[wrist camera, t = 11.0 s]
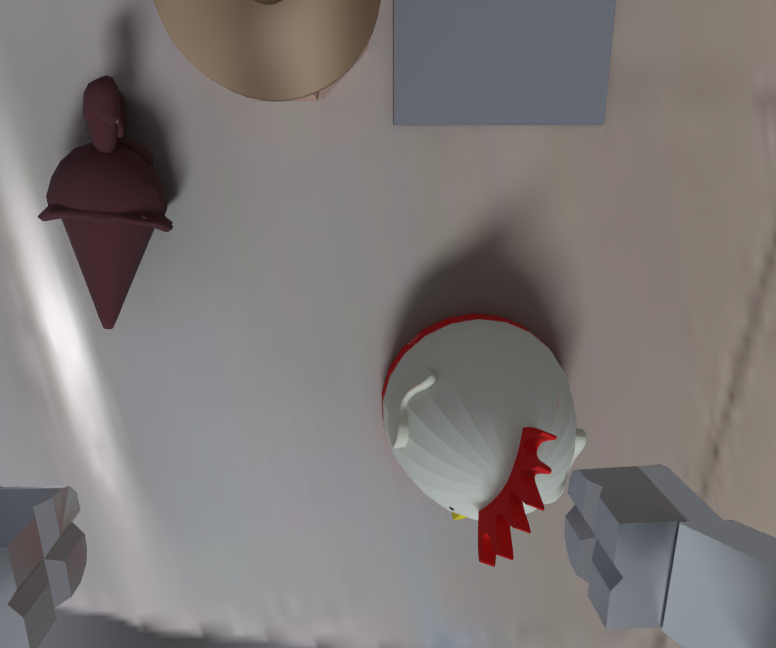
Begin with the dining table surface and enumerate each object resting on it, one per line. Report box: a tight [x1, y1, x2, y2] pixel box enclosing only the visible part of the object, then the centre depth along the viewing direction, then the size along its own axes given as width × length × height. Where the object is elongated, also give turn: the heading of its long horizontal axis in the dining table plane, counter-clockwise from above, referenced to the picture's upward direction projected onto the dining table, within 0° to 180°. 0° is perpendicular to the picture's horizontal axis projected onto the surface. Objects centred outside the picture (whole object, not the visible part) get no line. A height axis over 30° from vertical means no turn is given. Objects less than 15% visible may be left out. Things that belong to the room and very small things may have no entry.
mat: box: [393, 0, 616, 125], centre depth 35 cm, size 14×12×1 cm
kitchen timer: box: [382, 313, 586, 567], centre depth 36 cm, size 14×14×15 cm
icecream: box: [38, 76, 173, 329], centre depth 35 cm, size 7×7×15 cm
